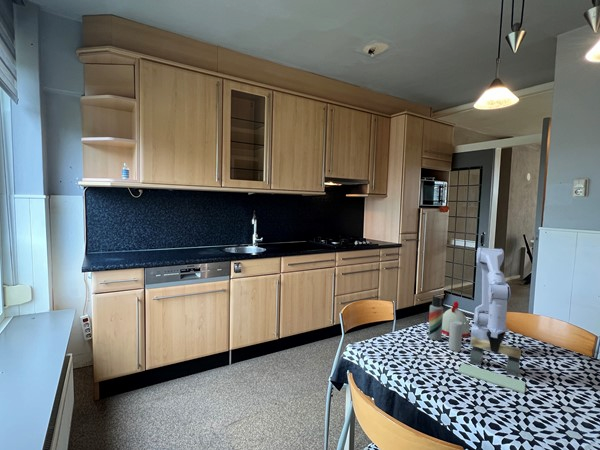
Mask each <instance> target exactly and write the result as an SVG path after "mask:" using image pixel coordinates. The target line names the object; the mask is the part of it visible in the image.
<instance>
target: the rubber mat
mask: <svg viewBox="0 0 600 450" xmlns="http://www.w3.org/2000/svg"><path fill="white" fill-rule="evenodd" d="M457 373H458V374H462V375H463V376H464V375H465V376H468V377H470V378H473V379H474V378H475V379H476V380H477V379H478V380H479V381H483V382H487V383H490V384H493V385H496V386H500V387H501V388H505V389H508V390H511V391H515V392H518V393H519V394H520V393H521V394H525V392H526V391H525V390H526V381H523V380H520V379H517V378H513V377H510V376H507V375H503V374H500V373H497V372H493V371H490V370H487V369H483V368H480V367H477V366H474V365H470V364H466V363H464V362H462V363H461V365H460V366H459V367H458V370H457Z"/></svg>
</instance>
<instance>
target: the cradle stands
mask: <svg viewBox="0 0 600 450" xmlns="http://www.w3.org/2000/svg"><path fill="white" fill-rule="evenodd" d="M483 356H484V350H483V349H482V348H479V347H475V346H473V347H472V349H470V358H469V363H470V364H473V365H476V366H481V365H482V363H483V358H484V357H483ZM507 356H508V357H507V360H506V373H505V374H506V375H510V376H513V377H517V378H519V375H520V362H521V357H520V358H516V357H512V356H509V355H507Z"/></svg>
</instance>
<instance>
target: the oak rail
mask: <svg viewBox="0 0 600 450" xmlns="http://www.w3.org/2000/svg"><path fill="white" fill-rule="evenodd" d="M470 343H471V346H475V347H479V348H482V349H486V350H490V351H491V348H490V342H489V341H487V340H483V339H479V338H475V337H472V339H471V338H470ZM471 346H470V347H471ZM486 350H485V351H486ZM490 351H489V352H490ZM498 354H502V355H505V356H508V355H509V356H512V357H516V358H520V359H521V356H522V349H521V348H519V347H514V346H511V345H505V344H502V343H501V344H500V347H499V350H498Z"/></svg>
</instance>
